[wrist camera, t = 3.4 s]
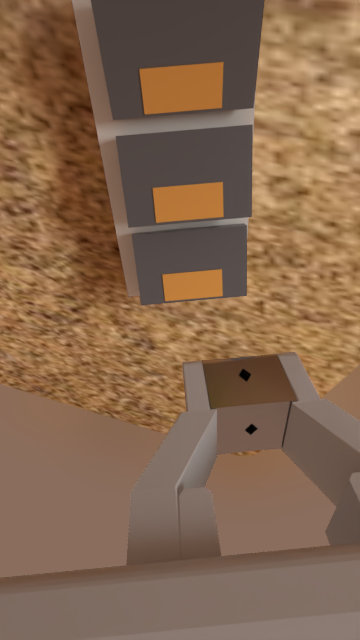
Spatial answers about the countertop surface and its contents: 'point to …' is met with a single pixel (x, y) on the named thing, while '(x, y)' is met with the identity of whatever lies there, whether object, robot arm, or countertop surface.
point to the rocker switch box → (113, 128)
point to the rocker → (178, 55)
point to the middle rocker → (186, 175)
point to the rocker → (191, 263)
